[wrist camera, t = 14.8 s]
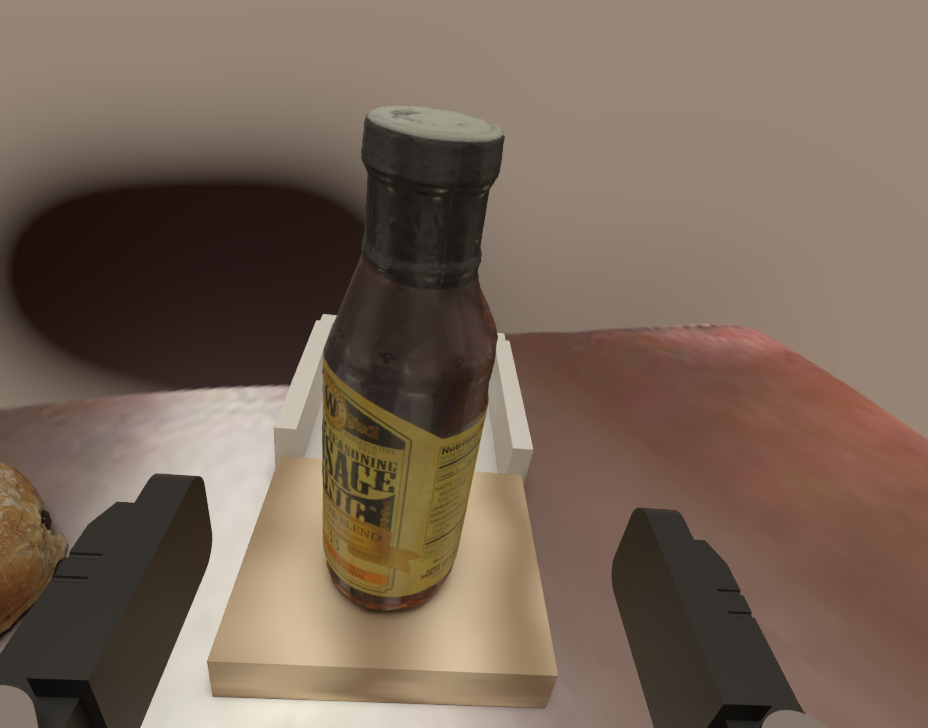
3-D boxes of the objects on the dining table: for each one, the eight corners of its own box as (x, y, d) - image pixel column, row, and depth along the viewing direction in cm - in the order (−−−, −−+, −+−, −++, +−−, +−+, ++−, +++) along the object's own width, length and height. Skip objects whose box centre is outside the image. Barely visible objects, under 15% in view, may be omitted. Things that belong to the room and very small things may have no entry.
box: (497, 381, 47) (507, 334, 44) (518, 505, 35) (533, 449, 33) (318, 363, 45) (319, 313, 43) (276, 487, 33) (273, 427, 31)
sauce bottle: (303, 540, 27) (280, 90, 17) (416, 497, 31) (454, 97, 20) (360, 653, 23) (376, 140, 12) (485, 589, 26) (580, 139, 16)
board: (513, 505, 35) (521, 475, 34) (544, 707, 25) (558, 675, 23) (281, 487, 33) (280, 455, 32) (212, 696, 23) (207, 661, 22)
